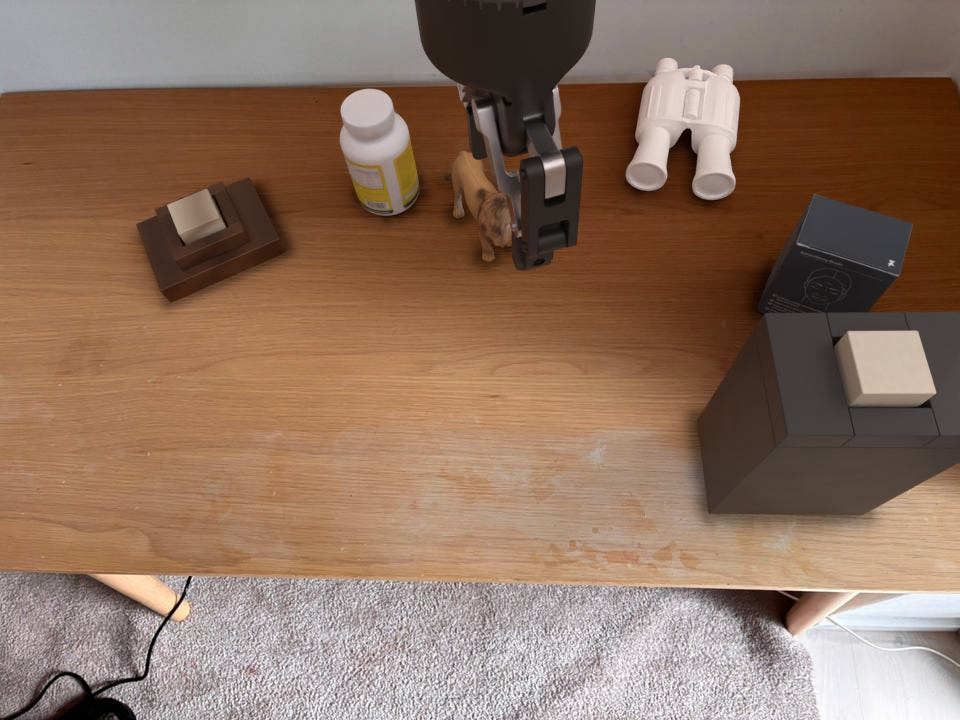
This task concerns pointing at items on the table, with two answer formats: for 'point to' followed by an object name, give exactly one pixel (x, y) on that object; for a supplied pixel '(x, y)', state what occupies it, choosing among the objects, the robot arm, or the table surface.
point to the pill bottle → (378, 153)
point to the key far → (196, 216)
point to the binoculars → (687, 106)
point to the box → (836, 260)
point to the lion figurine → (481, 203)
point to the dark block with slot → (825, 420)
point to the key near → (883, 369)
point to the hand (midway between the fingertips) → (509, 205)
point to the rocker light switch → (211, 242)
